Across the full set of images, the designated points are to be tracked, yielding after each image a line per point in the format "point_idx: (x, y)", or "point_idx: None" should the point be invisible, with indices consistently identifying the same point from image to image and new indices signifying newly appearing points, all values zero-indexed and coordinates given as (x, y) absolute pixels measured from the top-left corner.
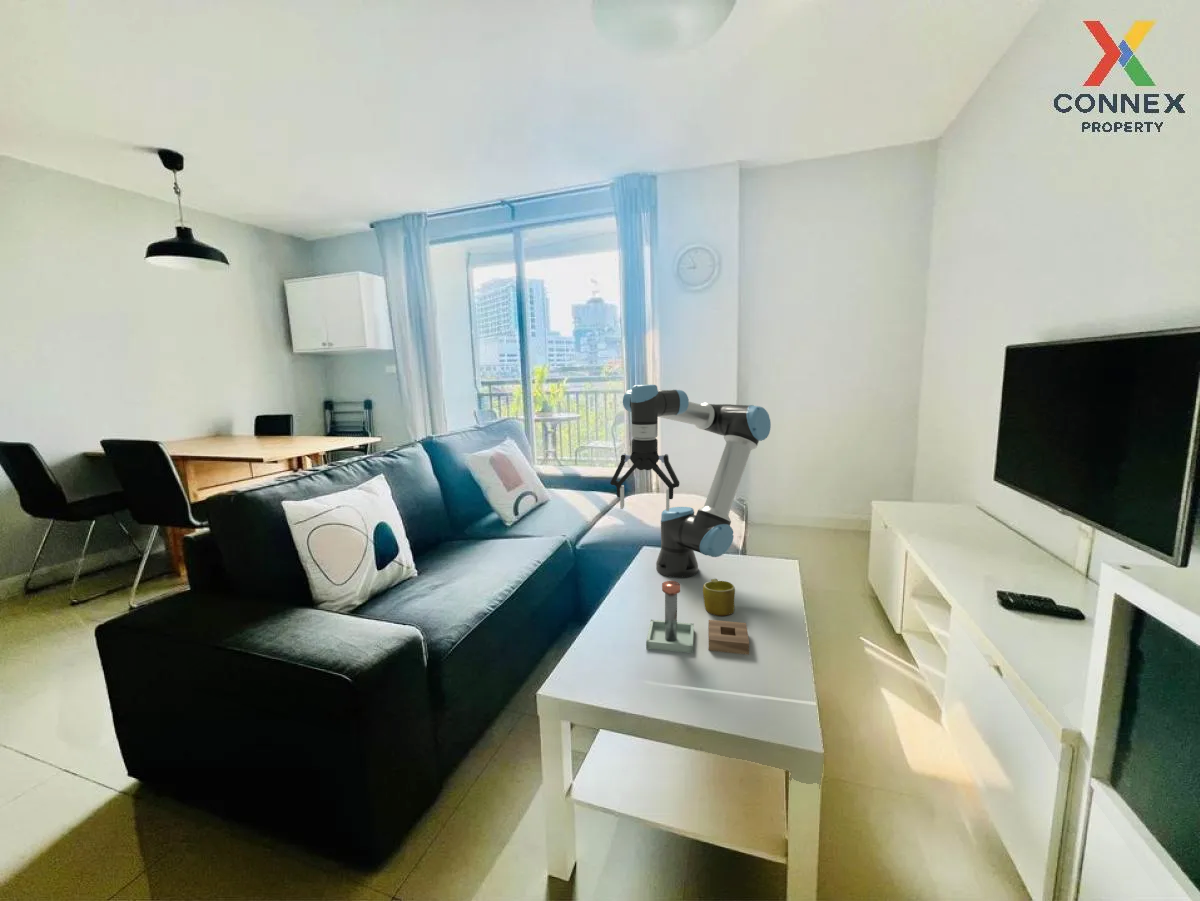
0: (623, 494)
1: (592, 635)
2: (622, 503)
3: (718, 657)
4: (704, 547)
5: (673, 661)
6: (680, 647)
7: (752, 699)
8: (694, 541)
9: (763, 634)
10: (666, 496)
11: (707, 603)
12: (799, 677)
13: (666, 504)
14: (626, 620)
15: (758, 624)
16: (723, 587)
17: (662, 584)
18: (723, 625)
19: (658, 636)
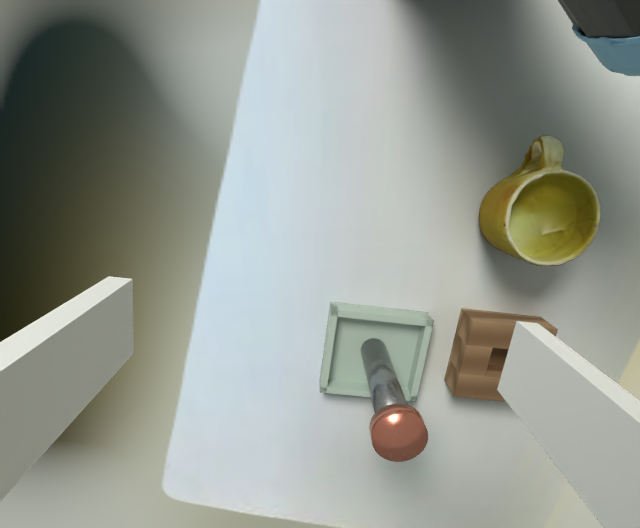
0: (54, 384)
1: (199, 341)
2: (105, 381)
3: None
4: (604, 58)
5: (371, 410)
6: None
7: (485, 486)
8: (577, 3)
9: (580, 312)
10: (579, 493)
11: (490, 238)
12: None
13: (528, 428)
14: (270, 275)
15: (587, 272)
16: (565, 182)
17: (373, 438)
18: (501, 343)
19: (346, 345)
